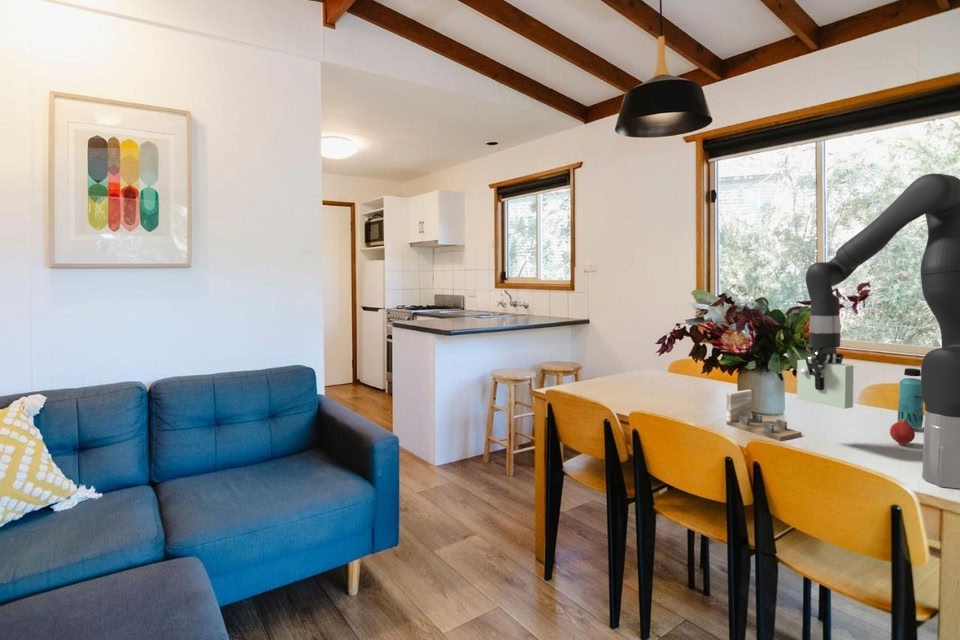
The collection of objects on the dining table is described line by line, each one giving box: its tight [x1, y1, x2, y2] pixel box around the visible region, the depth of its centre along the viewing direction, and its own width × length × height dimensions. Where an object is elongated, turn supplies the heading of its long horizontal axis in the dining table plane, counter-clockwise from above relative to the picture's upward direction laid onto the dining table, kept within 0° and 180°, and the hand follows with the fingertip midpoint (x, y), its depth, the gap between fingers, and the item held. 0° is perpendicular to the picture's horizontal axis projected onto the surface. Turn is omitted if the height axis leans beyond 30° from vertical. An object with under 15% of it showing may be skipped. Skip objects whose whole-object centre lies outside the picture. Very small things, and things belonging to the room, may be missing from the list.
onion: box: [889, 419, 916, 446], centre depth 153 cm, size 6×6×8 cm
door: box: [796, 359, 854, 409], centre depth 151 cm, size 14×4×12 cm, turn 23°
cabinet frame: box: [726, 389, 803, 441], centre depth 171 cm, size 20×10×11 cm, turn 23°
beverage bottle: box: [896, 367, 925, 429], centre depth 167 cm, size 6×7×20 cm
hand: (824, 388), depth 151 cm, fingers closed on door, 3 cm apart
